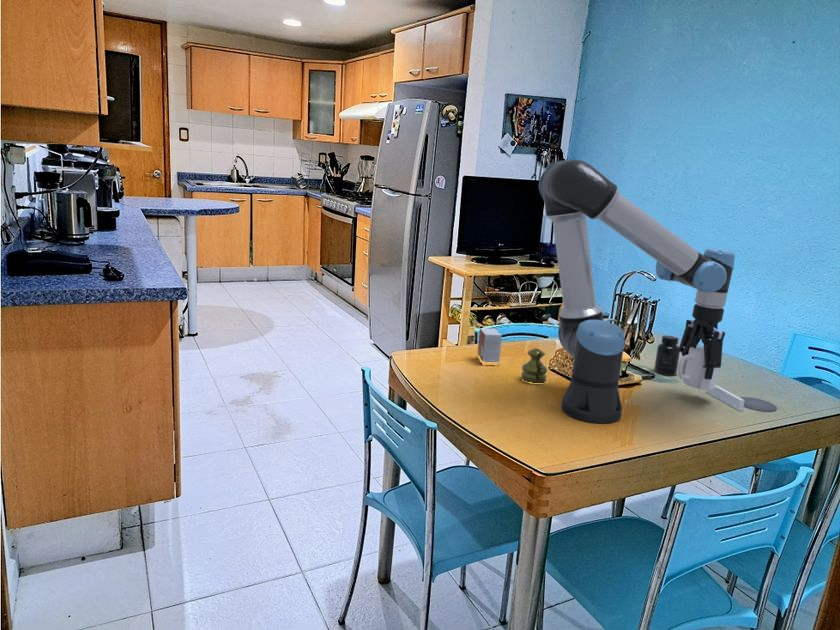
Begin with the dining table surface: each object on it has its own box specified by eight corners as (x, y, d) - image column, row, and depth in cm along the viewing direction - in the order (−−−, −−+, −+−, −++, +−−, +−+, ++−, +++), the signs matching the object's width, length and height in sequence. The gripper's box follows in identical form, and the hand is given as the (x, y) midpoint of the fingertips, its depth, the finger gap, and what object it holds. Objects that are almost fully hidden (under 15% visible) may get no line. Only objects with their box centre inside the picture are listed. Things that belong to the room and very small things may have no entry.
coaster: (753, 411, 160) (753, 410, 160) (728, 398, 170) (728, 397, 170) (785, 411, 162) (785, 410, 162) (759, 398, 171) (759, 396, 171)
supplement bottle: (680, 374, 190) (686, 338, 187) (668, 377, 186) (674, 341, 183) (661, 368, 195) (667, 333, 193) (649, 371, 192) (654, 335, 189)
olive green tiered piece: (544, 387, 170) (547, 354, 168) (518, 382, 173) (522, 350, 170) (547, 379, 177) (550, 347, 175) (522, 375, 179) (525, 344, 177)
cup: (721, 390, 163) (728, 355, 161) (685, 390, 160) (692, 354, 158) (700, 380, 171) (707, 346, 169) (665, 380, 168) (672, 346, 165)
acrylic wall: (738, 410, 160) (740, 400, 160) (706, 392, 174) (708, 382, 173) (742, 410, 161) (744, 400, 160) (710, 392, 174) (711, 382, 173)
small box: (476, 358, 194) (479, 327, 192) (493, 358, 195) (496, 328, 192) (482, 366, 186) (484, 334, 184) (499, 366, 187) (502, 334, 185)
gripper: (748, 315, 151) (729, 397, 156) (698, 298, 171) (683, 371, 176) (722, 313, 150) (704, 397, 155) (674, 296, 170) (660, 371, 175)
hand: (693, 383), depth 166 cm, fingers closed on cup, 8 cm apart
